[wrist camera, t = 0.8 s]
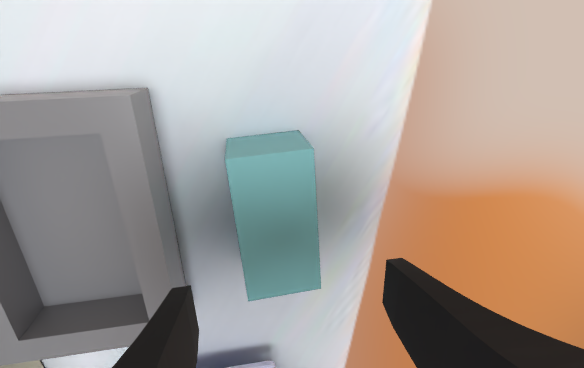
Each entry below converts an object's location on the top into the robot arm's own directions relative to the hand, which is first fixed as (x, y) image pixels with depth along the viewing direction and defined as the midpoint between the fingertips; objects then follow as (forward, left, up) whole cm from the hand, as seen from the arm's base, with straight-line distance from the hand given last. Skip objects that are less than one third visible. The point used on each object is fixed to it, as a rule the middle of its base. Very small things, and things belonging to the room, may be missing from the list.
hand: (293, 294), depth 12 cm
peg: (0, 0, -9) cm, 9 cm away
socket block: (0, +10, -8) cm, 13 cm away
